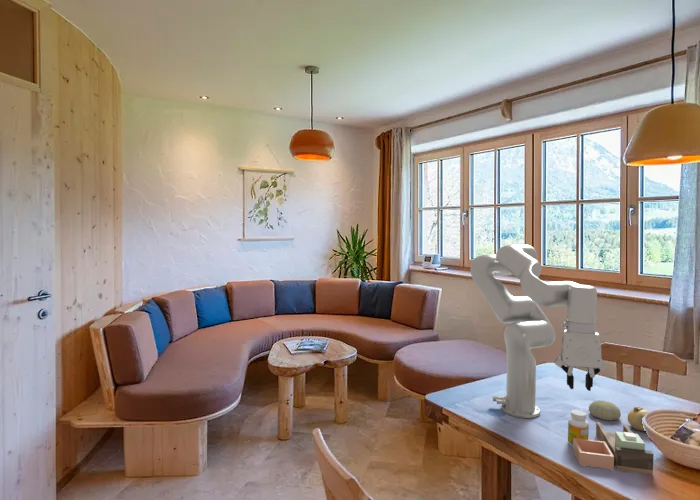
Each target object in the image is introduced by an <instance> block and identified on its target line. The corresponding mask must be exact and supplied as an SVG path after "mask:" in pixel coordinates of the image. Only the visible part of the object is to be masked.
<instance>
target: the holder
mask: <svg viewBox="0 0 700 500" xmlns="http://www.w3.org/2000/svg"><path fill="white" fill-rule="evenodd" d="M572 451H573V453H574V456H575V458H576V460H577V462H578V465H579V464H580V465H579V466H582V465H585V467H589V466H592V467H591V468H597V467H599V468H598V469H604V468H605V469H606V470H612V471H614V470H615V466H614V456H613V454H612V452H611V451H610V449H609V447H608V446H607V444H606V442H604V441H599V440H594V439H593V440H592V439H588V440H587V439H578V438H573V446H572Z"/></svg>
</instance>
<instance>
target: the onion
mask: <svg viewBox="0 0 700 500" xmlns="http://www.w3.org/2000/svg"><path fill="white" fill-rule="evenodd" d="M649 412H651V411H650V410H649V409H645V408H644V407H641V406H634V407H633V408H632V409H631V410H630V411H629V412H628V413H627V422H628V424H629V426H630V427H632V428H634V430H638V431H643V432H645V431H644V428H643V424H642V418H643V417H644V416H645V415H646V414H647V413H649Z"/></svg>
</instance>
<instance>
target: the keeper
mask: <svg viewBox="0 0 700 500" xmlns="http://www.w3.org/2000/svg"><path fill="white" fill-rule="evenodd" d="M614 433H615V447H623V448H631V449H639V450H646V443H645V442H644V440H643V439H642V438H641V436H640V435H639V434H638V433H634V432H633V433H629V432H623V431H615V432H614Z"/></svg>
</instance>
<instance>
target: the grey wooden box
mask: <svg viewBox="0 0 700 500" xmlns="http://www.w3.org/2000/svg"><path fill="white" fill-rule="evenodd" d="M595 425H596V426H595V435H596V437H597V439H598V441H604V442H606V444H607V446H608V447H609V449H610V451H611V452H612V454H613V456H614V469H616V471H622V472H629V473H638V474H645V475H651V476H652V475H654V453H653V451H652V450H647V449H645V450H639V449H631V448H623V447H615V432H611V431H606V429H605V428H604V426H603V425H602V423H601V421H596V423H595ZM622 432H629V433H634V432H633V431H632V430H631V429H630V427H629V426H628V425H627V424H623V426H622Z"/></svg>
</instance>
